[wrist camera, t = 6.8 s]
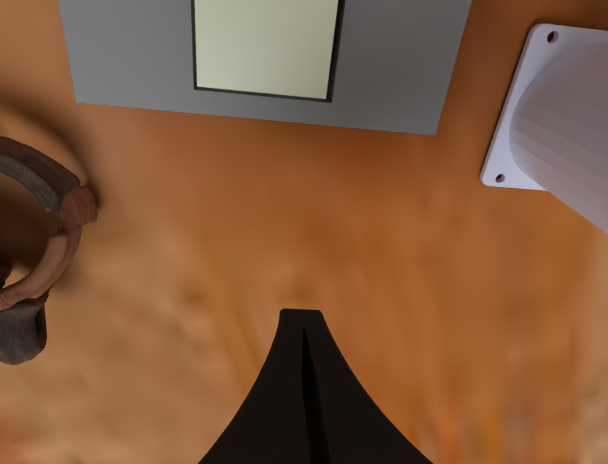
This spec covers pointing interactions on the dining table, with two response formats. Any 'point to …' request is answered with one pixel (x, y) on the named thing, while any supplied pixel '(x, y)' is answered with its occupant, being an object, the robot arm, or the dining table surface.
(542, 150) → the robot arm
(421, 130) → the grey rectangular frame
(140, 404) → the dining table surface
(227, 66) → the sage key
